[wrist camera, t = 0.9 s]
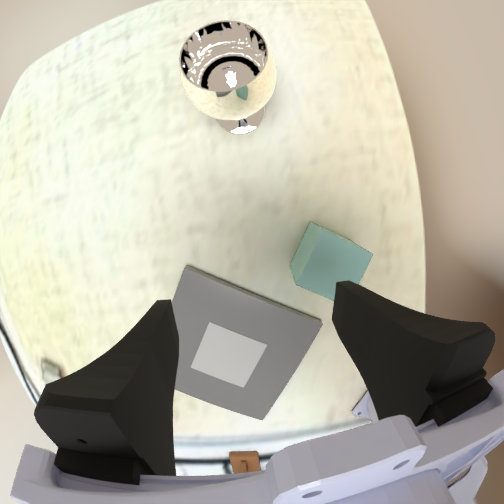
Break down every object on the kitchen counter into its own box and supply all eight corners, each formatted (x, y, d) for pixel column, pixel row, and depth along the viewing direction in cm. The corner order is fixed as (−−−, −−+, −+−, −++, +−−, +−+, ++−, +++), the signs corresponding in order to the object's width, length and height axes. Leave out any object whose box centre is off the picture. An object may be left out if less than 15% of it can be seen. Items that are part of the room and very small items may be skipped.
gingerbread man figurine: (262, 481, 34) (261, 543, 22) (237, 482, 34) (231, 542, 23) (257, 451, 32) (255, 522, 21) (229, 451, 32) (220, 521, 21)
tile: (320, 320, 28) (322, 325, 27) (262, 414, 31) (262, 420, 30) (187, 265, 27) (184, 268, 26) (150, 372, 30) (147, 377, 29)
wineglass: (204, 138, 25) (160, 101, 13) (212, 81, 23) (179, 14, 12) (268, 144, 25) (273, 107, 13) (275, 86, 23) (283, 17, 12)
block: (352, 241, 26) (373, 254, 21) (331, 284, 27) (346, 305, 22) (309, 221, 26) (322, 229, 21) (289, 266, 27) (295, 284, 21)
